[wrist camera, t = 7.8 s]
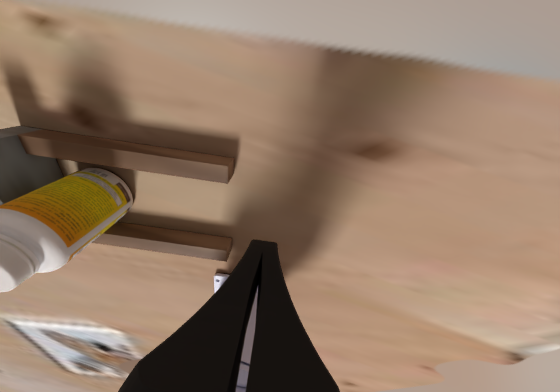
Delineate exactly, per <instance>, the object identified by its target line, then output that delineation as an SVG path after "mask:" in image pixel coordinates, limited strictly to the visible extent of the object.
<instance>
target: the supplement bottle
mask: <svg viewBox="0 0 560 392" xmlns="http://www.w3.org/2000/svg"><path fill="white" fill-rule="evenodd" d="M132 204H133V198H132V194H131V191H130V189H129V188H128V186H127V185H126V184H125V182H124V181H123V180H122V179H120V178H119V177H118V176H116V175H115V174H113V173H111V172H109V171H107V170H104V169H100V168H86V169H82V170H80V171H77V172H75V173H73V174H70V175H68V176H66V177H64V178H61V179H59V180H57V181H55V182H52V183H50V184H48V185H45V186H43V187H41V188H39V189H36V190H34V191H32V192H30V193H28V194H26V195H23V196H21V197H19V198H17V199H14V200H12V201H10V202H7V203H5V204H3V205H0V292H7V291H10V290H13V289H14V288H16V287H17V286H18V285H20V284H21V283H22V282H24V281H25V280H26V279H28V278H30V277H31V276H32V275H33V274H35V273H45V272H51V271H54V270H57V269H59V268H61V267H62V266H63V265H65V264H66V263H67V262H69V261H70V260H71V259H72V258H73V257H75V256H76V255H77V254H78V253H79V252H81V251H82V250H83V249H84V248H85V247H87V246H88V245H89V244H90V243H92V242H93V241H94V240H95V239H96V238H98V237H99V236H100V235H101V234H102V233H104V232H105V231H106V230H107V229H109V228H110V227H111V226H112V225H113V224H115V223H116V222H117V221H118V220H119V219H120V218H122V217H123V216H124V215H125V214H126V213H127V212H128V211H129V210H130V209H131V207H132Z"/></svg>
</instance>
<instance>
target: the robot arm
mask: <svg viewBox="0 0 560 392" xmlns="http://www.w3.org/2000/svg"><path fill="white" fill-rule="evenodd" d="M118 392H340V391H339V388H338V386H337V384H336V382H335V381H334V379H333V378H332V376H331V375H330V373H329V371H328V370H327V368H326V367H325V365H324V363H323V362H322V360H321V358H320V357H319V355H318V353H317V351H316V350H315V348H314V346H313V344H312V342H311V340H310V338H309V337H308V335H307V333H306V331H305V329H304V327H303V325H302V323H301V321H300V319H299V316H298V314H297V312H296V310H295V307H294V305H293V303H292V300H291V297H290V295H289V292H288V289H287V286H286V283H285V280H284V277H283V273H282V270H281V266H280V261H279V256H278V248H277V243H275V242H268V241H261V240H254V239H253V240H252V241H251V243H250V245H249V247H248V249H247V251H246V252H245V254H244V256H243V257H242V259H241V260H240V262H239V263H238V265H237V266H236V268H235V269H234V270H233V272H232V273H231V274H230V275H227V274H220V273H217V274H215V276H214V295H213V296H212V297H211V298H210V299H209V300H208V301H207V302H206V303H205V304H204V305H203V306H202V307H201V308H200V309H199V310H198V311H197V312H196V313H195V314H194V315H193V316H192V317H191V318H190V319H189V320H188V321H187V322H186V323H184V324H183V325H182V326H181V327H180V328H179V329H178V330H177V331H176V332H174V333H173V334H172V335H171V336H170V337H169V338H167V339H166V340H165V341H164V342H163V343H161V344H160V345H159V346H158V347H156V348H155V349H154V350H153V351H151V352H150V353H149V354H147V355H146V356H145V357H144V358H142V359H141V360H140V361H139V362H138V364H137V365H136V366H135V368H134V369H133V370H132V372H131V373H130V374H129V376H128V377H127V379H126V380H125V382H124V383H123V385H122V386H121V388H120V389H119V391H118Z"/></svg>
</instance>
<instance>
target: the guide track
mask: <svg viewBox="0 0 560 392" xmlns="http://www.w3.org/2000/svg"><path fill="white" fill-rule="evenodd" d="M56 158H58V159H65V160H71V161H78V162H85V163H92V164H98V165H105V166H112V167H119V168H125V169H132V170H139V171H146V172H152V173H159V174H166V175H172V176H179V177H186V178H193V179H199V180H206V181H213V182H220V183H226V184H228V182H229V181H230V179H231V177H232V176H233V173H234V158H230V157H223V156H217V155H210V154H203V153H197V152H190V151H184V150H177V149H170V148H164V147H157V146H151V145H144V144H137V143H131V142H124V141H117V140H111V139H104V138H98V137H91V136H84V135H78V134H71V133H65V132H58V131H51V130H45V129H38V128H32V127H25V126H16V127H10V128H5V129H0V205H3V204H5V203H7V202H10V201H12V200H14V199H17V198H19V197H21V196H23V195H26V194H28V193H30V192H32V191H34V190H36V189H39V188H41V187H43V186H45V185H48V184H50V183H52V182H55V181H57V180H59V179H61V178H64V177H63V175H62V172H61V170H60V168H59V165H58V163H57V161H56ZM92 243H98V244H105V245H112V246H119V247H127V248H134V249H141V250H148V251H155V252H162V253H169V254H177V255H184V256H191V257H198V258H205V259H212V260H219V261H226V262H227V259H228V257H229V254H230V251H231V246H232V238H227V237H220V236H213V235H206V234H199V233H192V232H185V231H178V230H171V229H164V228H157V227H150V226H143V225H136V224H129V223H122V222H116V223H115V224H113V225H112V226H111V227H110V228H109V229H107V230H106V231H105V232H104V233H102V234H101V235H100V236H99V237H98V238H96V239H95V240H94V241H93V242H92Z"/></svg>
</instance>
